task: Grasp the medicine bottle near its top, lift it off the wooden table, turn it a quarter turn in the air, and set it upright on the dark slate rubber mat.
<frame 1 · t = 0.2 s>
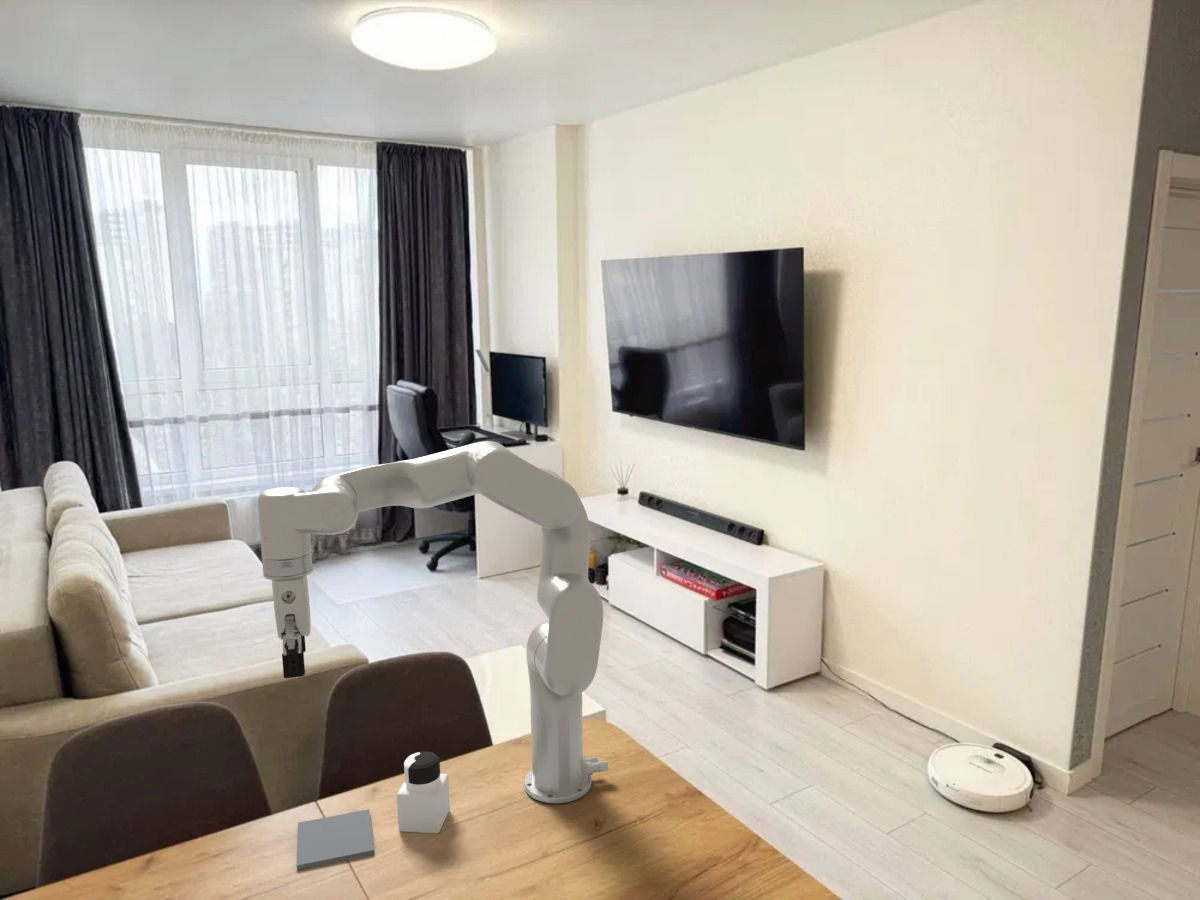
hand: (295, 664, 140), 31 cm above the table, tool pointing down, fingers open, 9 cm apart
slate mat: (335, 840, 143), on the table
medicine bottle: (424, 822, 148), on the table
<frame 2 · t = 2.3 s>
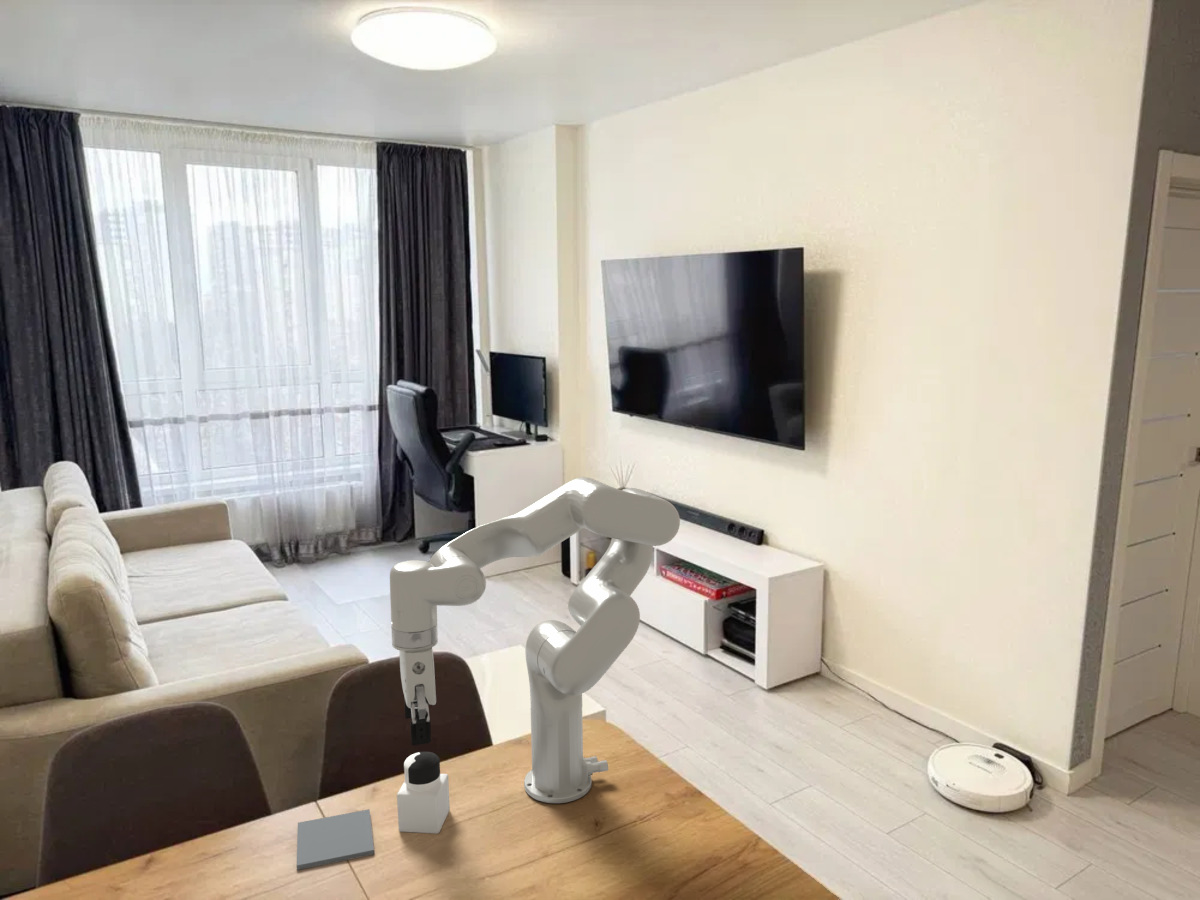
hand: (417, 729, 145), 17 cm above the table, tool pointing down, fingers open, 9 cm apart
nothing on the table moved.
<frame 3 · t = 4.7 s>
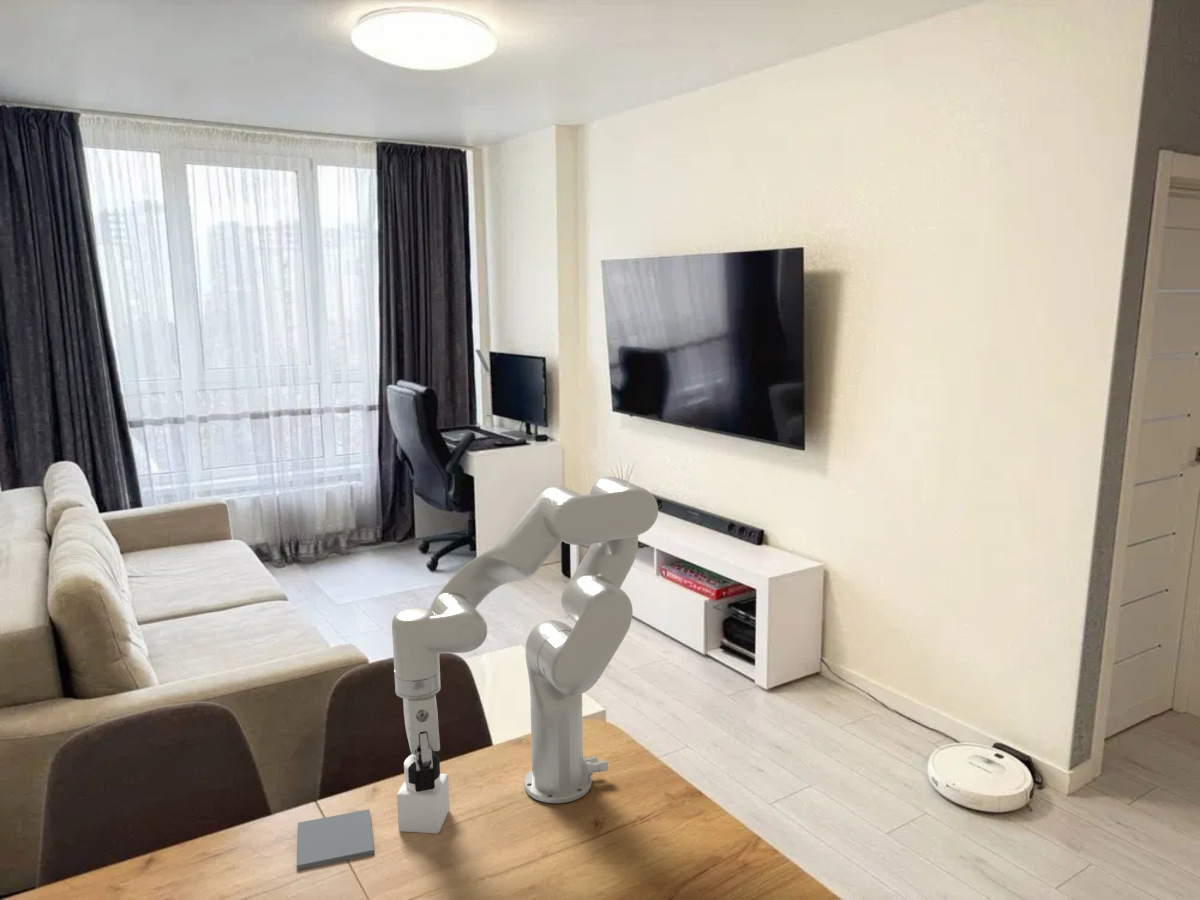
hand: (422, 778, 147), 8 cm above the table, tool pointing down, fingers closed on medicine bottle, 6 cm apart
medicine bottle: (424, 821, 148), on the table, touching gripper
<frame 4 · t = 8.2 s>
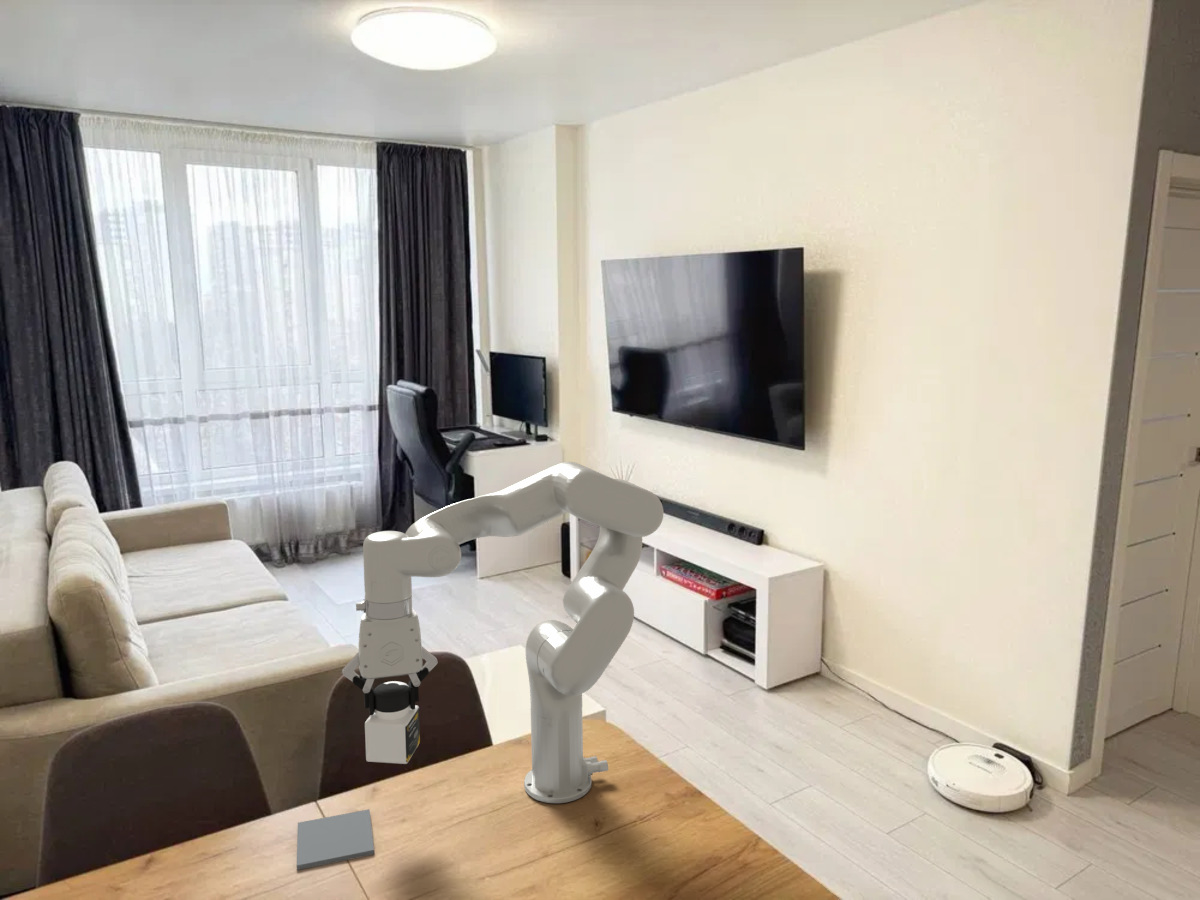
hand: (391, 707, 143), 22 cm above the table, tool pointing down, fingers closed on medicine bottle, 6 cm apart
medicine bottle: (393, 753, 144), point 14 cm above the table, touching gripper
when the fingers open (10 cm above the table, at t = 11.5 s): medicine bottle stays where it is, resting on slate mat.
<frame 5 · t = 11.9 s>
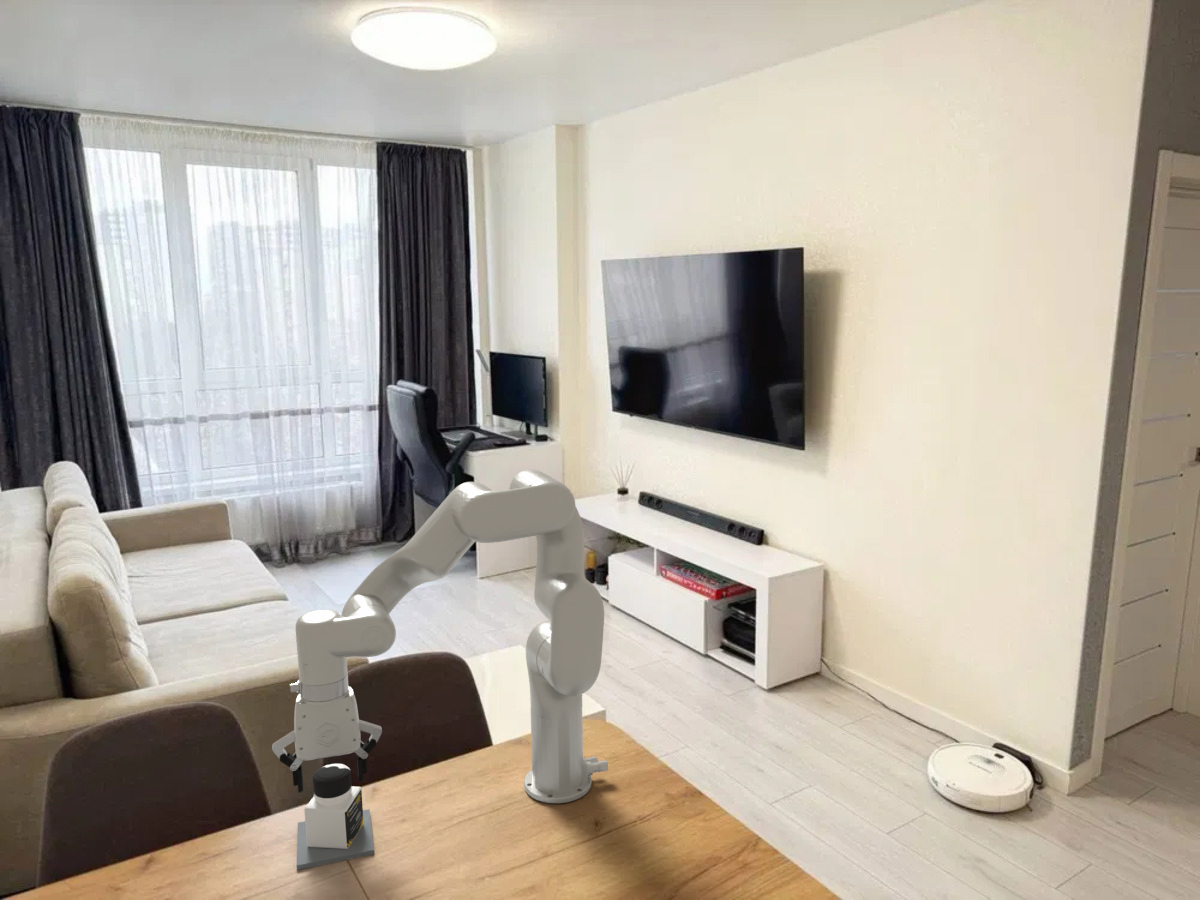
hand: (331, 782, 141), 11 cm above the table, tool pointing down, fingers open, 9 cm apart
medicine bottle: (336, 836, 143), point 1 cm above the table, touching slate mat
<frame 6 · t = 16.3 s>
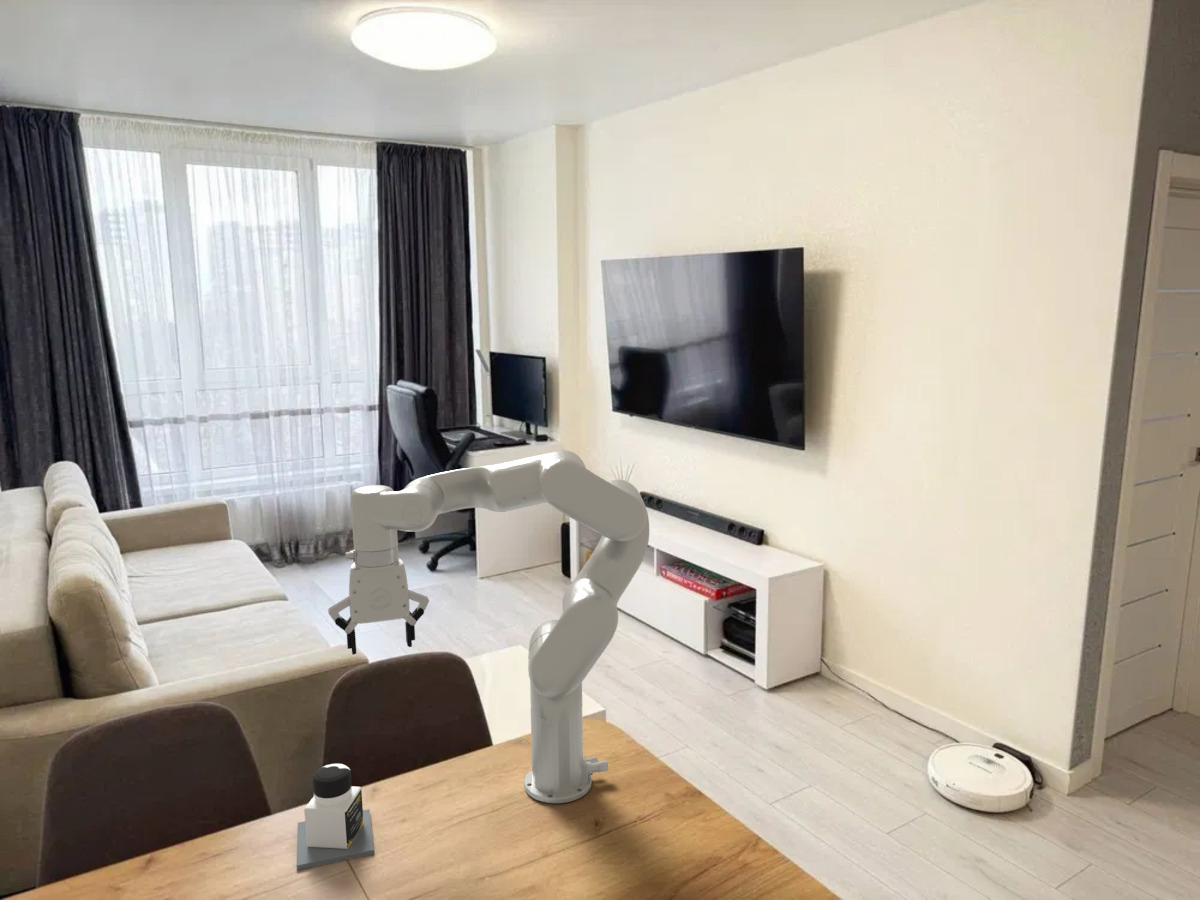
hand: (381, 647, 152), 28 cm above the table, tool pointing down, fingers open, 9 cm apart
nothing on the table moved.
at the end: medicine bottle inside the target area on the slate mat (0.2 cm from its centre), point 0.6 cm above the slate mat's base; medicine bottle tilted 0°; the gripper is holding nothing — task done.
